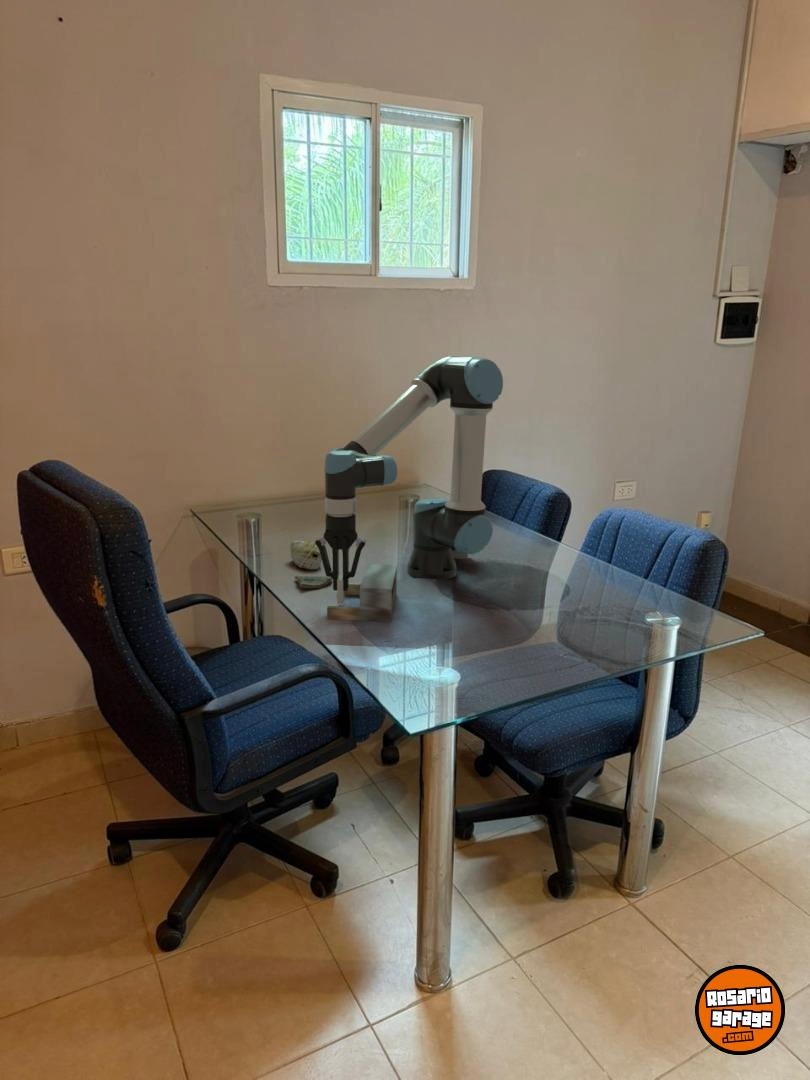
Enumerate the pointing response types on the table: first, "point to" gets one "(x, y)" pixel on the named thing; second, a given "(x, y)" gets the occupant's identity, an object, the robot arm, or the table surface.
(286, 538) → the table surface
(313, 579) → the ceramic fragment
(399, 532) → the table surface
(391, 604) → the seat fixture
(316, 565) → the seashell
